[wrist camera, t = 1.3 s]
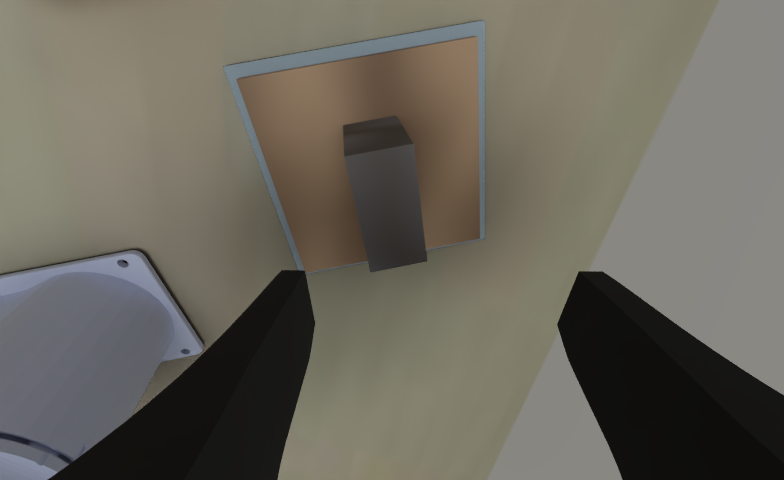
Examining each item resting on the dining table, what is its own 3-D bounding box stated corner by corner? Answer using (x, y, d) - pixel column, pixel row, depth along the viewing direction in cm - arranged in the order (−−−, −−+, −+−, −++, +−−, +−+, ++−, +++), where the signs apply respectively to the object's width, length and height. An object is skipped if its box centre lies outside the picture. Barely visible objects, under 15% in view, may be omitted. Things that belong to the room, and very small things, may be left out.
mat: (301, 270, 20) (300, 275, 20) (226, 65, 15) (222, 66, 14) (482, 234, 21) (484, 238, 20) (480, 20, 15) (484, 20, 14)
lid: (306, 266, 20) (297, 331, 16) (239, 77, 14) (198, 98, 10) (476, 233, 20) (513, 288, 16) (473, 36, 15) (527, 40, 11)
